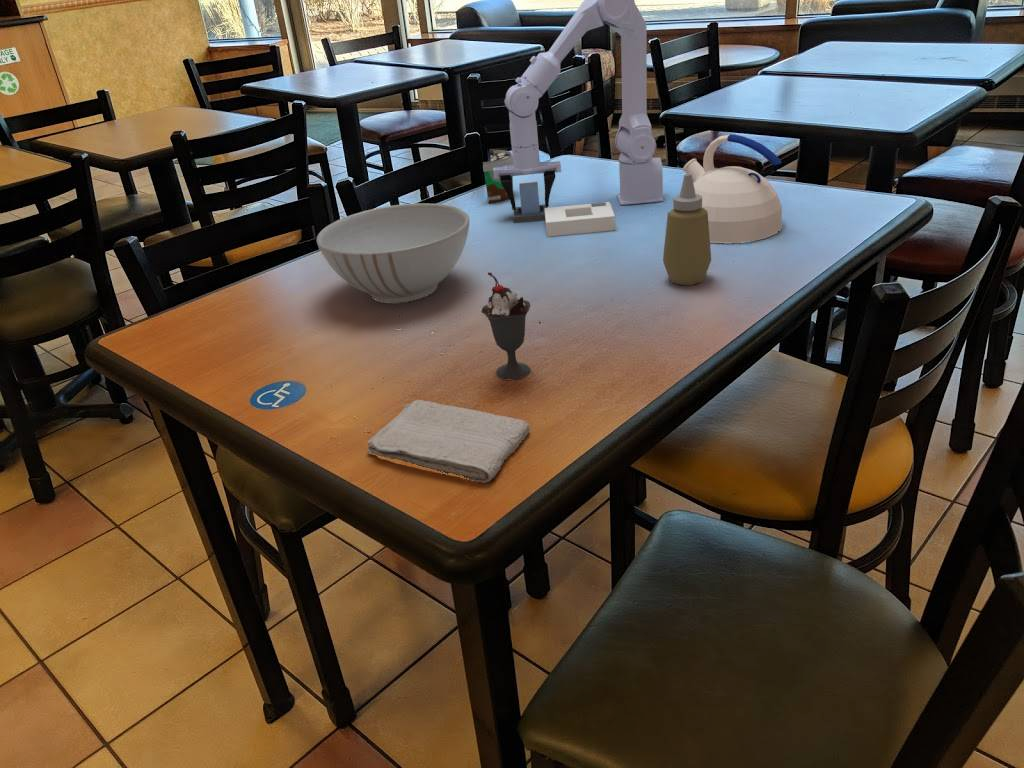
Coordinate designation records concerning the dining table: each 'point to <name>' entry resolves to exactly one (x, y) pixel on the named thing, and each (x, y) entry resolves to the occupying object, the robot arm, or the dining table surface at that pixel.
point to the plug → (529, 198)
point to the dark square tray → (528, 217)
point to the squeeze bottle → (687, 237)
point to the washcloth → (450, 439)
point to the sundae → (508, 327)
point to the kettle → (736, 196)
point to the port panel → (579, 219)
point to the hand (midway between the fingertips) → (530, 207)
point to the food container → (494, 185)
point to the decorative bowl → (396, 249)
